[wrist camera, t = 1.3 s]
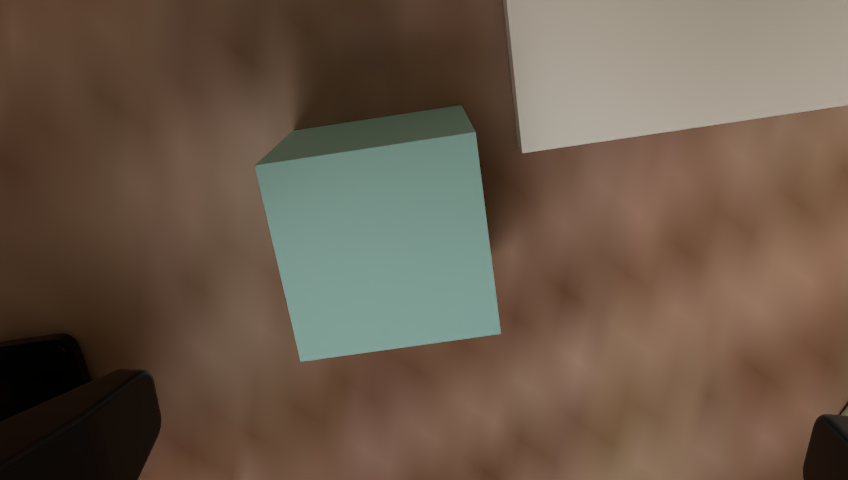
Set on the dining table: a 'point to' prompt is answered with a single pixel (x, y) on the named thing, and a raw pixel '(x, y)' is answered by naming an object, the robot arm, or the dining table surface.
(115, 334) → the dining table surface
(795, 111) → the plate
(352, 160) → the cube
